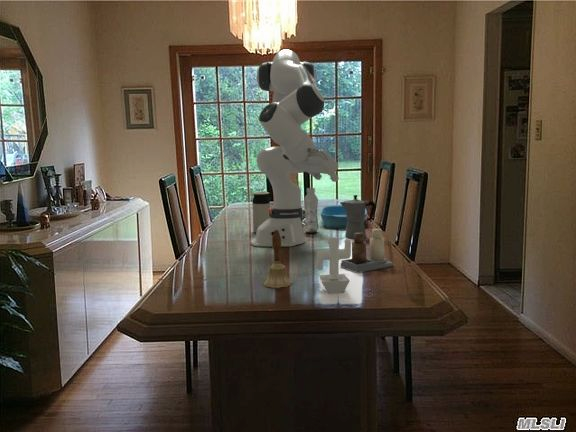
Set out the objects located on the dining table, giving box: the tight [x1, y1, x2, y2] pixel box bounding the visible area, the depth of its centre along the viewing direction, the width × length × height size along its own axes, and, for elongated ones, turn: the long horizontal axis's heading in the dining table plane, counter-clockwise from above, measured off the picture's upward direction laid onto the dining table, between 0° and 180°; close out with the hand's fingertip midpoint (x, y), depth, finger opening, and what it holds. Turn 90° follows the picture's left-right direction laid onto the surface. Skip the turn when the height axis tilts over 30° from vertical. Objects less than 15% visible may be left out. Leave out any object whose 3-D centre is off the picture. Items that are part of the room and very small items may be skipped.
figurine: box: [316, 236, 352, 294], centre depth 141 cm, size 7×9×15 cm
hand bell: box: [263, 230, 293, 289], centre depth 149 cm, size 8×8×16 cm
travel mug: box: [251, 191, 271, 233], centre depth 237 cm, size 8×8×18 cm
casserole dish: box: [320, 204, 368, 229], centre depth 256 cm, size 37×22×7 cm, turn 173°
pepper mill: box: [351, 233, 367, 264], centre depth 166 cm, size 5×5×10 cm
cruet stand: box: [340, 228, 394, 273], centre depth 167 cm, size 15×9×12 cm, turn 119°
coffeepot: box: [339, 194, 377, 240], centre depth 217 cm, size 15×9×18 cm, turn 68°
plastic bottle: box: [303, 187, 319, 234], centre depth 231 cm, size 6×7×20 cm
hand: (327, 179), depth 163 cm, fingers open, 8 cm apart
